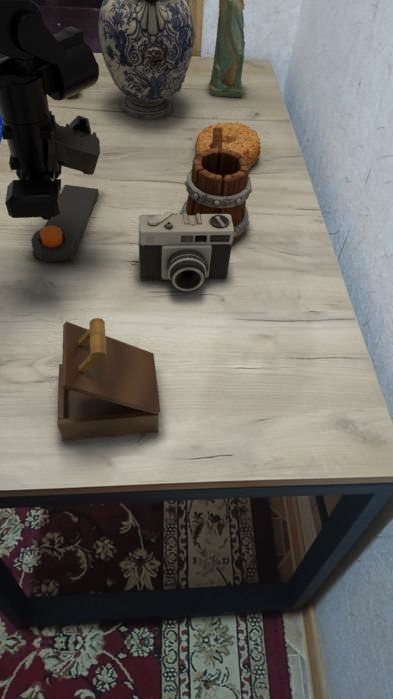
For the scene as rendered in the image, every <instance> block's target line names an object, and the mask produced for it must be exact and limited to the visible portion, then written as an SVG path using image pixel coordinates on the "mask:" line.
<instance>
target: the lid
mask: <svg viewBox="0 0 393 699" xmlns="http://www.w3.org/2000/svg"><path fill="white" fill-rule="evenodd" d="M155 360H156V359H155V353H154V352H152V351H149V350H145V349H143V348H141V347H137V346H135V345H132V344H129V343H127V342H124V341H121V340H119V339H115V338H113V337H110V336H107V335H106V322H105V320H104V319H103V318H100V317H95V318H92V319H91V320H90V321H89V328H85V327H83V326H80V325H77V324H75V323H71V322H69V321H65V322H64V323H63V324H62V363H61V364H62V388H63V389H67V390H70V391H74V392H77V393H81V394H85V395H88V396H92V397H95V398H99V399H103V400H106V401H110V402H113V403H117V404H121V405H124V406H128V407H131V408H135V409H139V410H142V411H146V412H149V413H153V414H158V413H159V414H160V413H161V403H160V396H159V388H158V379H157V369H156V361H155Z"/></svg>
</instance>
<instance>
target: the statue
mask: <svg viewBox="0 0 393 699" xmlns="http://www.w3.org/2000/svg"><path fill="white" fill-rule="evenodd" d="M218 2H219V3H218V17H217V28H216V39H215V47H214V54H213V65H212V70H211V75H210V81H209V93H210V94H211V95H212V96H216V97H230V98H241V97H242V94H243V86H242V85H243V84H242V77H243V76H242V74H243V68H244V61H245V46H246V42H245V33H244V32H245V31H244V28H245V18H244V10H245V2H244V0H218Z"/></svg>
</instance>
